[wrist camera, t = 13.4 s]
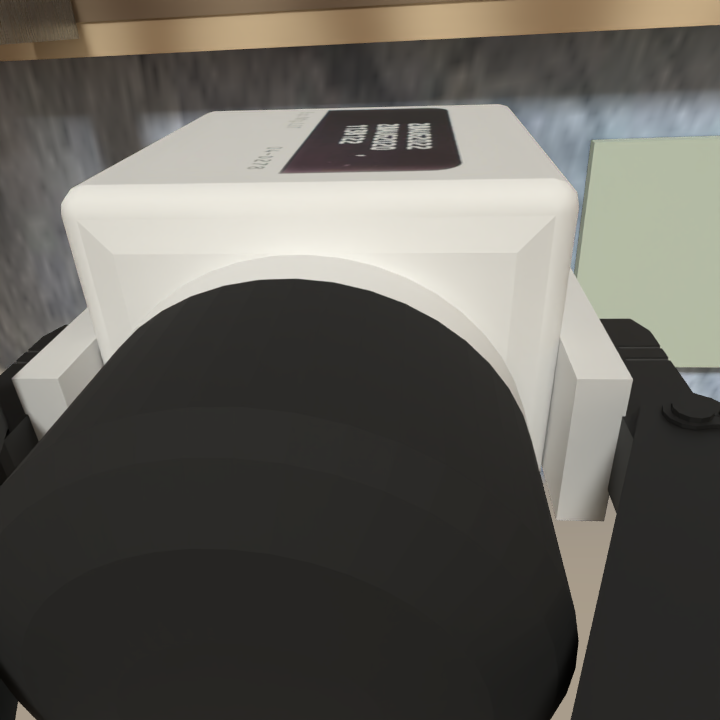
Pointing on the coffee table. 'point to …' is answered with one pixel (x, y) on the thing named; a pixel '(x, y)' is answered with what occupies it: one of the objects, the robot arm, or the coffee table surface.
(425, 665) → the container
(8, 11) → the grey l-shaped beam
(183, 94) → the coffee table surface
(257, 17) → the rail
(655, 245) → the pad
